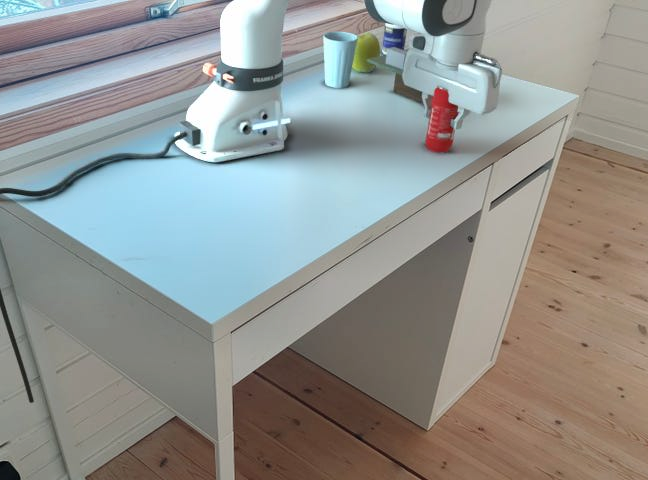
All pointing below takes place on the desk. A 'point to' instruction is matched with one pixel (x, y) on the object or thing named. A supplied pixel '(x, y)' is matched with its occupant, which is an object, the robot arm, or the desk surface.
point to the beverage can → (441, 122)
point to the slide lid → (391, 60)
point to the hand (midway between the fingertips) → (442, 122)
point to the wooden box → (407, 90)
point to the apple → (365, 52)
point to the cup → (339, 57)
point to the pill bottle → (393, 37)
